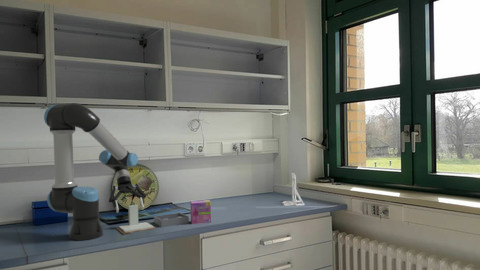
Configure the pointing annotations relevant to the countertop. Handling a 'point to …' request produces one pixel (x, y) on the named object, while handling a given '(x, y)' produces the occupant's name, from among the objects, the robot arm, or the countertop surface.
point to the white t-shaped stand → (134, 221)
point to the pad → (132, 231)
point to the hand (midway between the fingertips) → (130, 210)
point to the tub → (171, 219)
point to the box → (200, 212)
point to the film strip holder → (294, 191)
